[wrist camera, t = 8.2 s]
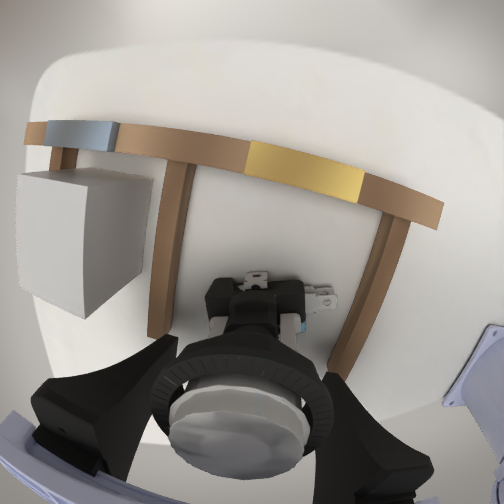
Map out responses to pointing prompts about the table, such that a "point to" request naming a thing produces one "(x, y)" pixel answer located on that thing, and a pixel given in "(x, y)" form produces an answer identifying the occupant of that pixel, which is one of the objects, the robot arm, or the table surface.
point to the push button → (247, 382)
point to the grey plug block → (80, 234)
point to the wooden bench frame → (258, 165)
